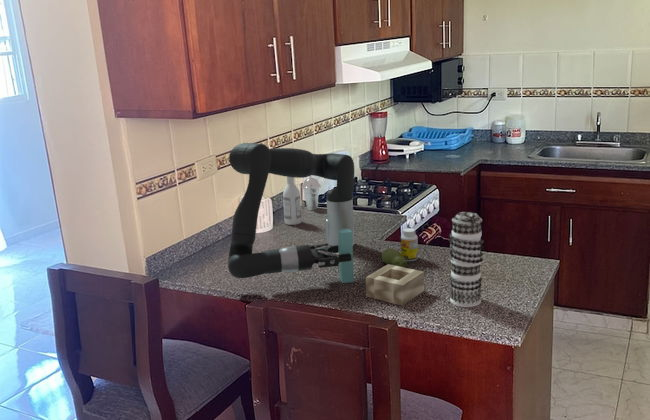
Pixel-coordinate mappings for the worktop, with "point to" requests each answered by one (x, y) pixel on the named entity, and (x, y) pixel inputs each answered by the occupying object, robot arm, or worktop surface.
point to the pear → (393, 258)
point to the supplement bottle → (409, 245)
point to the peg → (345, 248)
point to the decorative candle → (466, 259)
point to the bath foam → (291, 203)
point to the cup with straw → (311, 192)
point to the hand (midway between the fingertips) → (347, 252)
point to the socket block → (395, 284)
